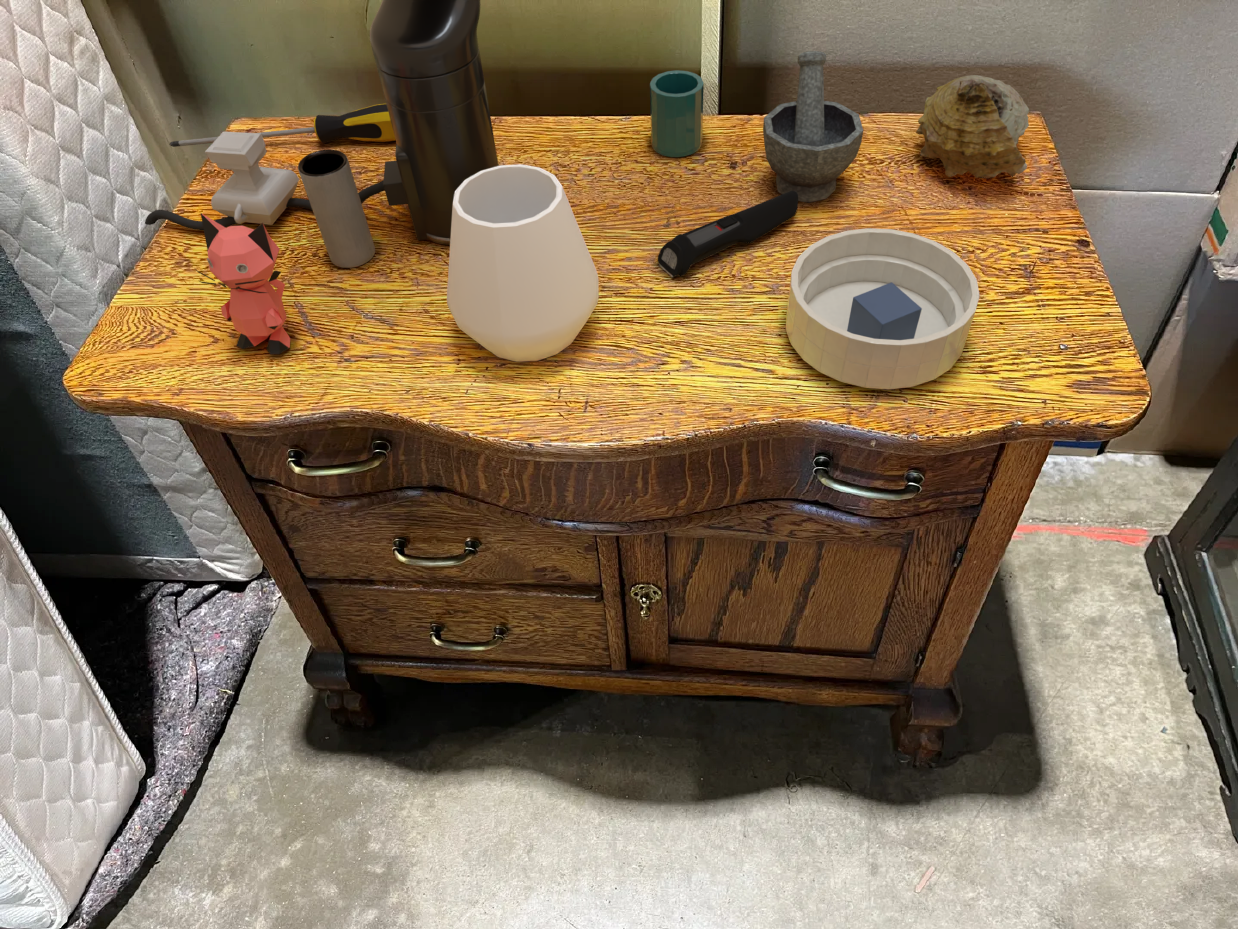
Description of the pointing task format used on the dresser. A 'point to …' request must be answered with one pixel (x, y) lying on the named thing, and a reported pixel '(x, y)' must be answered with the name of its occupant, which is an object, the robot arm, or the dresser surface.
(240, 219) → the stamp
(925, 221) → the dresser surface
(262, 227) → the cat figurine
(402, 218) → the dresser surface
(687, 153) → the cup
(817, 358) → the bowl
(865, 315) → the block
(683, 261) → the electric trimmer
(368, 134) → the screwdriver
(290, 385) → the dresser surface
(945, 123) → the seashell
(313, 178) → the grey hollow cylinder
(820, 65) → the mortar and pestle
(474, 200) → the cup
